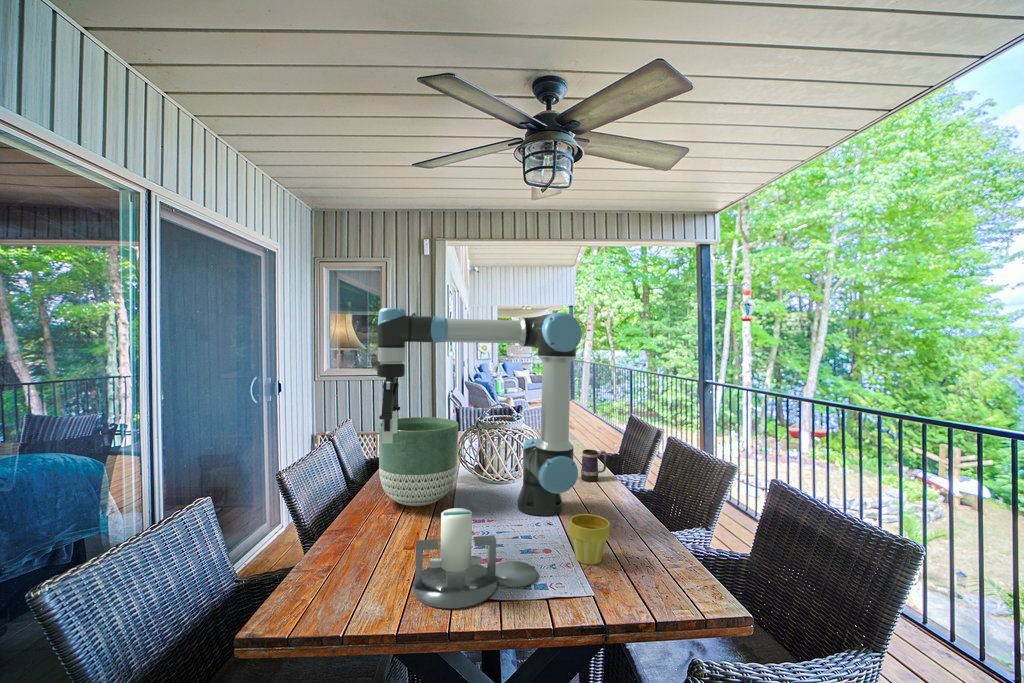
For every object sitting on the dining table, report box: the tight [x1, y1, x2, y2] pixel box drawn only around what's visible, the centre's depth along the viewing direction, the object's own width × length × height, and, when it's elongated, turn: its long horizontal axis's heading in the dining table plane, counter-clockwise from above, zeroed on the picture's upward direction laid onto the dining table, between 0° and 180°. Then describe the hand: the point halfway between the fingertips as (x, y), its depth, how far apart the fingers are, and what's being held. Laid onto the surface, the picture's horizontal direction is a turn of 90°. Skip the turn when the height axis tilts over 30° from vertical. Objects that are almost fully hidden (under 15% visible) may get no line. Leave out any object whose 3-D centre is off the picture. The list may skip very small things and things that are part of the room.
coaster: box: [495, 560, 538, 589], centre depth 110 cm, size 11×11×1 cm
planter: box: [378, 416, 459, 507], centre depth 158 cm, size 27×27×27 cm
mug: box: [580, 448, 607, 483], centre depth 187 cm, size 10×7×12 cm
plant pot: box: [568, 513, 611, 566], centre depth 119 cm, size 10×10×10 cm
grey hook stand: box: [412, 534, 498, 610], centre depth 105 cm, size 19×19×10 cm
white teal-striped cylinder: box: [429, 507, 482, 572], centre depth 105 cm, size 12×7×12 cm, turn 102°
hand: (390, 437), depth 130 cm, fingers open, 13 cm apart
